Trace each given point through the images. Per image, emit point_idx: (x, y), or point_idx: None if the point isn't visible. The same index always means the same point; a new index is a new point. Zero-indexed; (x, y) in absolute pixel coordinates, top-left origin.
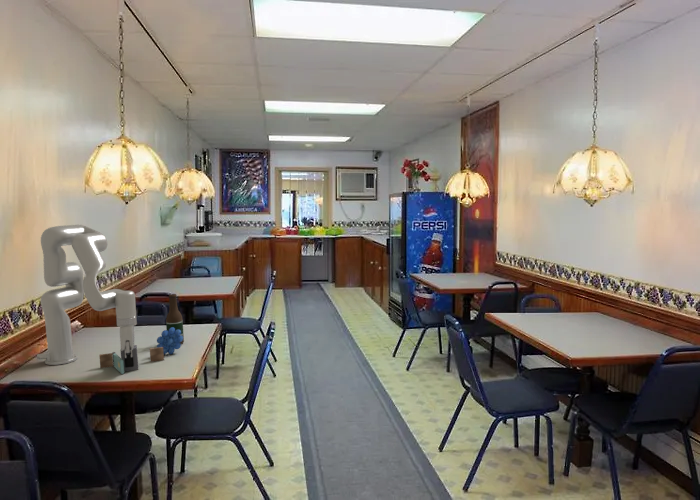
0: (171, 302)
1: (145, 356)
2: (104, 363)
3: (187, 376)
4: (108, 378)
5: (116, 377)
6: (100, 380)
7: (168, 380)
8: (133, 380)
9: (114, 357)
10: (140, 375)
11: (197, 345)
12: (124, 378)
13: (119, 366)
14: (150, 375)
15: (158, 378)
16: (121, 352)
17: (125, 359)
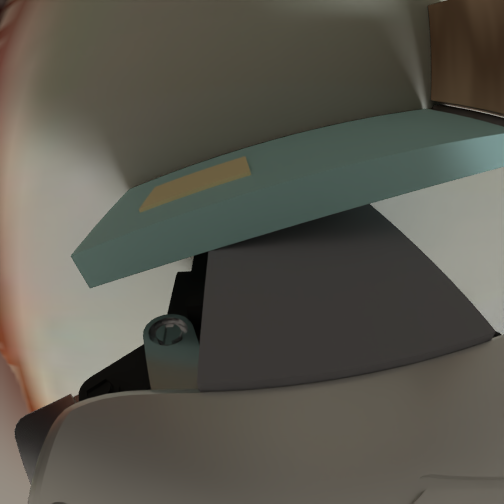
0: None
1: (487, 305)
2: (455, 33)
3: None
4: (58, 90)
5: (63, 156)
6: (36, 39)
7: (26, 399)
8: (3, 285)
9: (455, 130)
10: (82, 322)
11: None
12: (32, 227)
13: (168, 185)
14: (80, 364)
15: (41, 382)
16: (203, 342)
17: (187, 299)
